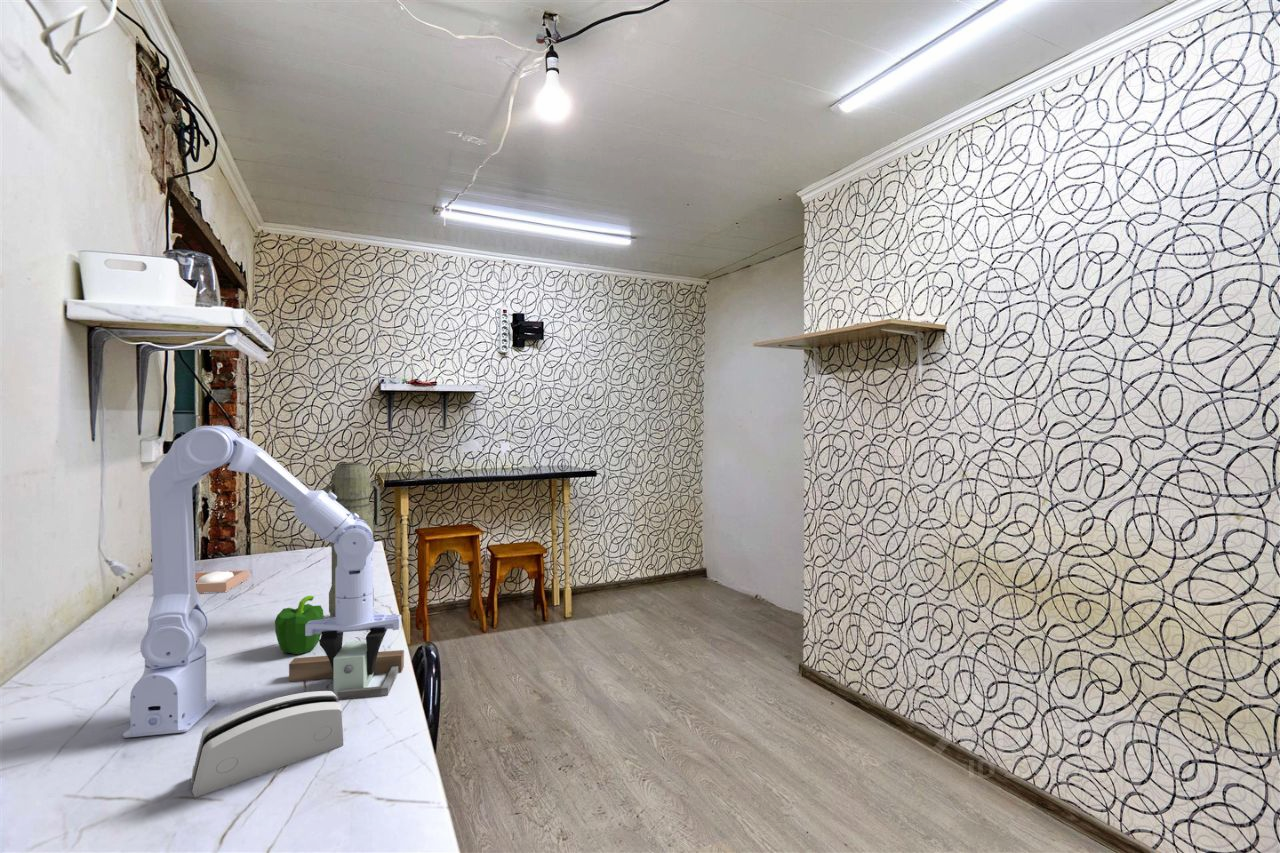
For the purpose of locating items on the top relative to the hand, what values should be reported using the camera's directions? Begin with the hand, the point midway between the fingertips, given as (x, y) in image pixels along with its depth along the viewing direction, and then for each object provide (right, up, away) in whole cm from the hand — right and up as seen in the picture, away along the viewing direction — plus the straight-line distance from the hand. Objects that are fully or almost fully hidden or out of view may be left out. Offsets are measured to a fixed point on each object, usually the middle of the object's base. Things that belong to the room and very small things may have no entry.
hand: (354, 673), depth 98 cm
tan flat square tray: (-67, -1, +56) cm, 87 cm away
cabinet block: (0, -2, 0) cm, 2 cm away
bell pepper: (-18, -2, +15) cm, 23 cm away
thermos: (-16, -2, +31) cm, 35 cm away
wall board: (-2, -2, 0) cm, 3 cm away
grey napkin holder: (+1, -3, -23) cm, 23 cm away
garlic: (-65, -1, +57) cm, 87 cm away
